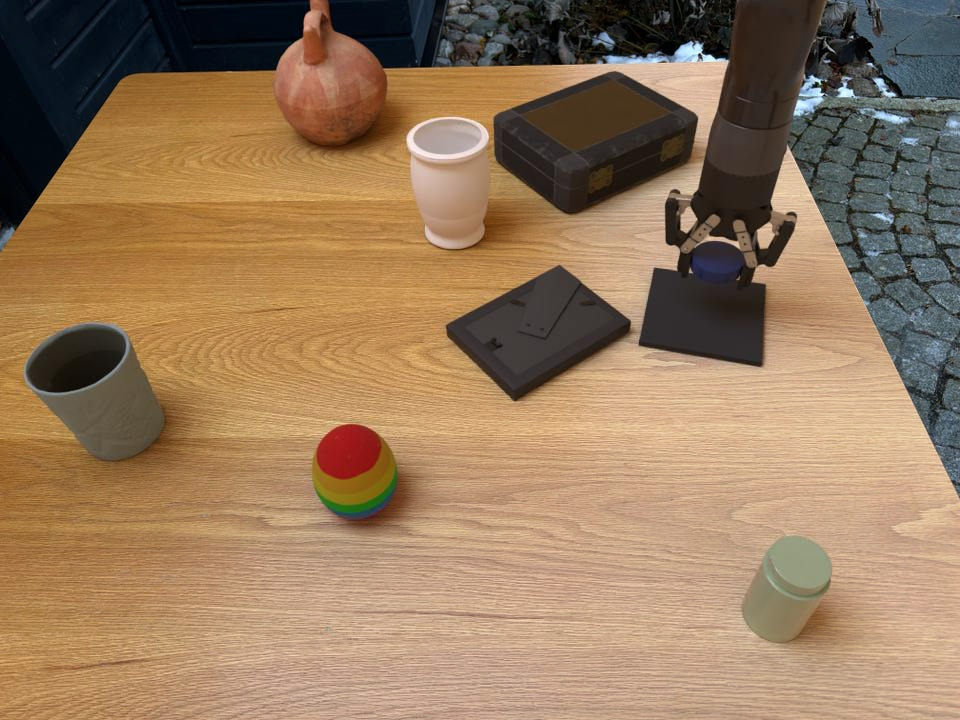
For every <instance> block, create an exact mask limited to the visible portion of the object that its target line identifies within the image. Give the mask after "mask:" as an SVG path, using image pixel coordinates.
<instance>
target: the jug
mask: <svg viewBox="0 0 960 720" xmlns="http://www.w3.org/2000/svg"><path fill="white" fill-rule="evenodd" d="M309 6H310V11H308V12H307V13H306V14H305V16H304V19H303V29H302V31H303V35H302V37H301V38H299V39H298V40H296V41H294V43H292V44H291V45H290V46H288V47H287V49H286V50H285V51H284V53H283V54H282V55H281V56H280V59H279V60H278V63H277V66H276V69H275V73H274V77H273V84H272V88H273V94H274V98H275V102H276V104H277V107H278V109H279V110H280V112H281V114H282V116H283V118H284V119H285V121H286V122H287V123H288V124H289V125H290V126H291V127H292V128H293V129H294V130H296V132H298V133H299V134H300V135H301V136H303V137H304V138H305V139H306V140H308V141H310V142H311V143H313V144H317V145H319V146H323V147H334V146H335V147H336V146H337V147H338V146H342V145H347V144H350V143H353V142H354V141H357V140H359V139H360V138H362V137H364V136H365V135H366V134H367V133H368V132H369V130H370V129H371V128H372V126H373V125H375V122H376V120H377V119H378V118H379V117H380V115H381V113H382V111H383V110H384V109H383V108H384V106H385V105H386V100H387V94H388V77H387V73H386V71H385V70H384V68H383V66H382V64H381V63H380V60H379V59H378V58H377V56H375V54H374V53H373V52H372V51H371V50H369V48H367V47H366V46H365V45H363V44H362V43H360V42H359V41H357V40H356V39H354V38H352V37H350V36H348V35H345V34H342V33H340V32H337V31H335V30H334V28H333V25H332V21H331V16H330V15H331V14H330V13H331V12H330V4H329V0H309Z"/></svg>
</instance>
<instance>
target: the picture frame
mask: <svg viewBox="0 0 960 720" xmlns="http://www.w3.org/2000/svg"><path fill="white" fill-rule="evenodd" d="M631 325H632V320H631V319H630V318H628V317H627V316H626V315H625V314H623V313H622V312H621V311H620V310H618V309H616V308H615V306H614V307H613V306H612V305H611V304H610V303H609V302H607V301H606V300H605V299H604V298H602V297H601V296H599V295H598V294H597V293H596V292H594V291H593V290H592V289H591V288H589V287H588V286H587V285H586V284H584V283H583V282H582V280H581V279H579V278H577V276H575V275H574V274H572V272H570V271H568V270H567V269H566V268H565V267H563V266H562V265H561V264H558V265H556V266H554V267H552V268H550V269H548V270H547V271H545V272H542V273H541V274H539V275H538V276H535V277H533V278H532V279H530V280H527V281H526V282H524V283H523V284H520V285H518V286H517V287H515V288H513V289H510V290H509V291H507V292H505V293H503V294H501V295H499V296H498V297H496V298H494V299H492V300H490V301H488V302H486V303H485V304H482V305H480V306H479V307H477V308H475V309H472V310H471V311H469V312H466V313H465V314H463V315H462V316H459V317H458V318H456V319H454V320H452V321H450V322H448V323H446V324H445V329H446V331H445V332H446V336H447V337H448V338H449V339H450V340H451V341H452V343H454V344H455V345H456V346H457V347H458V348H459V349H460V350H461V351H462V352H463V353H464V354H465V355H466V356H467V357H468V358H469V359H470V360H471V361H472V362H473V363H475V364H476V366H478V368H479V369H481V371H483V372H484V373H485V374H486V375H487V376H488V377H489V378H490V379H491V380H492V381H493V382H494V383H495V384H496V385H497V386H498V388H500V389H501V390H502V391H503V392H504V393H505V394H506V395H507V396H508V397H509V398H510V399H511V400H513V402H516V401H518V400H519V399H521V398H523V397H524V396H526V395H527V394H529V393H531V392H533V391H534V390H536V389H538V388H539V387H541V386H543V385H544V384H545V383H547V382H549V381H551V380H552V379H554V378H556V377H557V376H560V375H561V374H563V373H565V372H566V371H567V370H569V369H571V368H572V367H574V366H575V365H578V364H579V363H581V362H582V361H584V360H586V359H587V358H589V357H591V356H593V355H595V354H596V353H598V352H599V351H601V350H603V349H604V348H607V347H608V346H609V345H611V344H613V343H614V342H616V341H618V340H620V339H621V338H622V337H624V336H626V335H628V334H629V333H630V332H631Z"/></svg>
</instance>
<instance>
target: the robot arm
mask: <svg viewBox="0 0 960 720" xmlns="http://www.w3.org/2000/svg"><path fill="white" fill-rule="evenodd" d="M827 2H828V0H736V3H735V10H734V16H733V23H732V31H731V39H730V49H729V50H730V51H729V59H728V63H727V65H726V68H725V72H724V76H723V79H722V86H721V89H720V95H719V98H718V99H719V100H718V104H717V108H716V112H715V115H714V118H713V119H712V123H711V125H710V130H709V135H708V140H707V143H706V149H705V152H704V153H705V154H704V158H703V163H702V167H701V173H700V177H699V182H698V186H697V187H698V188H697V190H696V191H695V192H693V194H684V193H683V194H682V193H681V191H680V190H679V189H677V188H673V189H671V190H670V191H669V194H668V195H667V198H666V199H665V200H666V201H665V202H664V234H665V235H664V237H665V244H666V245H667V246H670V247H673V246H675V247H677V248H678V250H679V253H678V254H679V255H678V259H677V260H678V261H677V265H676V271H678V272H682V274H681V277H684V278H687V276H688V273H690V271H691V268H690V262H691V257H692V253H693V251H694V248H695V247H696V246H697V245H699V244H701V243H702V242H703V240H704V239H705V238H706V237H707V236H708V237H713V238H723V239H726V240H729V241H732V242H735V243H736V242H738V245H739V249H740V250H741V252H742V253H743V255H744V258H745V260H744V264H743V268H742V271H741V275H740V277H739V278H738V280H739V282H738V285H737V289H736V290H740V291H742V290H743V287H749V286H750V285H751V282H753V279H754V276H755V272H756V269H757V267H759V266H765V267H766V268H774V267H775V266H776V265H777V262H778V261H779V259H780V257H781V256H782V254H783V252H784V250H785V248H786V247H787V245H788V243H789V241H790V240H791V237H792V236H793V234H794V232H795V229H796V225H797V222H798V221H797V220H798V214H797V213H796V212H794V211H788V212H786V213H781V212H779V211H775V210H774V208H773V205H772V199H773V195H774V192H775V188H776V185H777V182H778V179H779V175H780V172H781V168H782V165H783V162H784V158H785V155H786V153H787V152H788V151H787V150H788V144H789V140H790V135H791V129H792V122H793V117H794V114H795V111H796V109H797V108H796V107H797V104H798V100H799V96H800V93H801V90H802V85H803V82H804V77H805V71H806V62H807V60H808V57H809V54H810V52H811V49H812V46H813V44H814V40H815V38H816V34H817V33H818V29H819V26H820V23H821V19H822V17H823V14H824V11H825V8H826V5H827ZM689 207H690V209H691V211H692V212H693V214H694V216H695V218H696V220H695V222H694V224H693V225H692V226H691V227H690V229H689V230H688V231H687V232H686V231H683V230H682V215H683V214H685V212H686V209H687V208H689ZM768 223H770V224H771V226H772V227H771V232H772V233H773V234H774V235H773V237H772V240H771V241H770V243H769V245H768V247H766V248H765V247H763V248H761V245H760V242H759V237H758V235H759V234H758V230H760V229H761V228H762V227H764V226H765V225H767V224H768Z"/></svg>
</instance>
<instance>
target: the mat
mask: <svg viewBox="0 0 960 720" xmlns="http://www.w3.org/2000/svg"><path fill="white" fill-rule="evenodd" d="M681 274H682V272H678V271H677V270H676V269H675V270H674V269H669V268H662V267H653V272H652V275H651V281H650V285H649V290H648V296H647V301H646V304H645V305H646V306H645V310H644V315H643V320H642V325H641V329H640V335H639V341H638V346H639V347H644V348H650V349H655V350H661V351H668V352H672V353H679V354H685V355H691V356H696V357H702V358H707V359H712V360H713V359H714V360H719V361H723V362H724V361H725V362H730V363H735V364H736V363H737V364H742V365H747V366H753V367H759V368H761V367H762V365H763V361H764V360H763V359H764V337H765V319H766V318H765V317H766V316H765V315H766V296H767V294H766V293H767V283H760V282H754V281H752V282H751V285H750V286H749V287H743V290H742V291H740V290H736V289H737V285H738V282H739V279H736V280H735V281H733V282H730V283H726V284H714V283H709V282H706V281H703V280H701V279H699V278H698V277H697V276H695V275H694V273H693V272H689V273H688V276H687V278H684V277H681Z"/></svg>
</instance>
